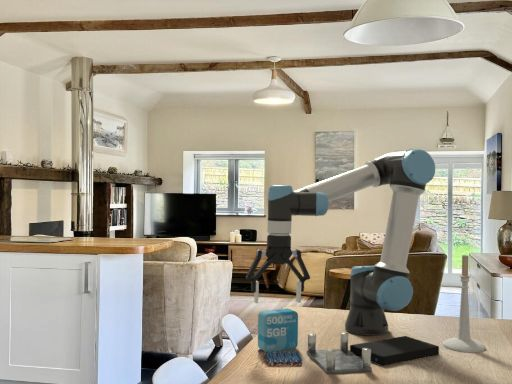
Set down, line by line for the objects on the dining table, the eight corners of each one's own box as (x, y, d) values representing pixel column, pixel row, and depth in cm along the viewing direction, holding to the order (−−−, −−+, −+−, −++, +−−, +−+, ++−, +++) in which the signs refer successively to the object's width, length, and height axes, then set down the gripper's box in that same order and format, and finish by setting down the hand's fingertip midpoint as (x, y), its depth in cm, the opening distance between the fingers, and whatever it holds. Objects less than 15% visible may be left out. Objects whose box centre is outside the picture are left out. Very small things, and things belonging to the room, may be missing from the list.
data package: (263, 353, 175) (264, 314, 175) (257, 349, 179) (257, 311, 179) (298, 348, 180) (298, 310, 180) (290, 345, 184) (291, 307, 184)
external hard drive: (438, 356, 175) (438, 346, 175) (382, 367, 163) (382, 356, 163) (404, 344, 188) (404, 335, 188) (349, 354, 176) (349, 344, 176)
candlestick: (475, 355, 176) (477, 257, 175) (436, 346, 184) (437, 253, 184) (491, 346, 185) (492, 254, 185) (453, 339, 194) (454, 250, 193)
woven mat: (263, 357, 172) (263, 350, 172) (298, 357, 173) (298, 350, 173) (265, 368, 162) (265, 361, 162) (302, 367, 162) (303, 360, 162)
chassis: (346, 351, 178) (347, 332, 177) (372, 371, 158) (372, 350, 158) (306, 353, 175) (306, 333, 175) (327, 374, 156) (327, 352, 155)
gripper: (313, 233, 185) (312, 299, 185) (237, 233, 180) (236, 300, 180) (321, 235, 178) (319, 304, 178) (242, 235, 173) (240, 305, 173)
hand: (277, 302), depth 179 cm, fingers open, 13 cm apart
